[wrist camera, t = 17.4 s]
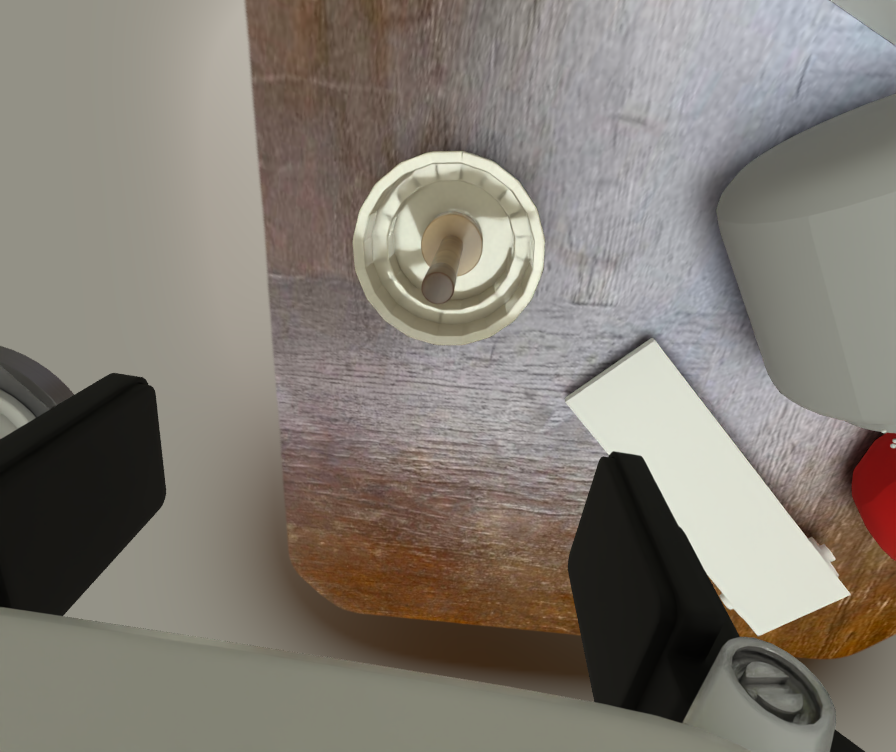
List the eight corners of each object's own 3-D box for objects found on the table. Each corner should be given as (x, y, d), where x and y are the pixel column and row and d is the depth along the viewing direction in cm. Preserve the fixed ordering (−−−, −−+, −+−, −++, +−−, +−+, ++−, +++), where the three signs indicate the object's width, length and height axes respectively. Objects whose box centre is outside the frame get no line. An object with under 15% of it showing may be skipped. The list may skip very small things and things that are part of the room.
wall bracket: (561, 372, 48) (728, 577, 52) (549, 411, 42) (739, 640, 46) (658, 313, 42) (836, 547, 46) (659, 348, 36) (864, 614, 40)
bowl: (338, 222, 38) (314, 234, 33) (471, 111, 35) (469, 104, 29) (437, 347, 42) (430, 377, 36) (567, 258, 38) (581, 276, 33)
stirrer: (411, 235, 38) (375, 278, 25) (459, 198, 36) (446, 224, 24) (447, 282, 39) (429, 346, 26) (494, 248, 38) (499, 298, 25)
